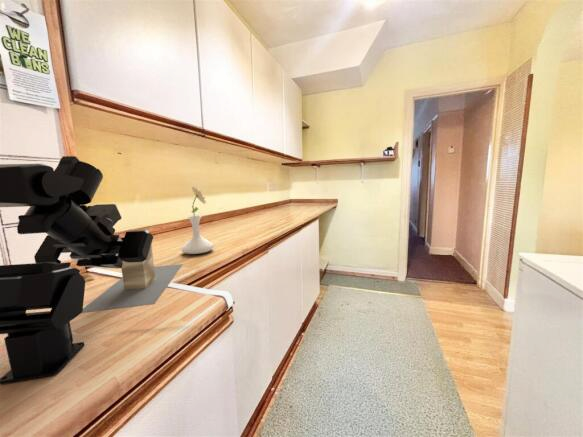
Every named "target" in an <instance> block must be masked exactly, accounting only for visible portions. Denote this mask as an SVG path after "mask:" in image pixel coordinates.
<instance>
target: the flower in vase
mask: <svg viewBox="0 0 583 437" xmlns="http://www.w3.org/2000/svg"><path fill="white" fill-rule="evenodd" d="M191 189H192V192H193V193H194V195H195V197H194V199H193V202H192V206H191V208H192V210H191V213H193V215H188V216H187V218H188V220H189V221H190V223H191V227H192V235H191V238H190V239H189V240H188V241H186V242H185V244H183V246H181V249H180V251H181V252H182V253H184V254H188V255H198V254H204V253H207V252H209V251H212V250H213V248H214V244H213V243H212V242H211V241H209V240H207V239H206V238H205V237H203V236H202V235H201V233H200V221H201V218H202V217H203V216H202V215H199V214H197V215H195V213H196V212H197V211H198V210H199V207H197V206H195V207H194V204H195V202H196V199H198V201H200V202H201V203H202V204H204V205H205V204H206V203H207V201H206V200H205V197H204V196H203V194H202V192H201V190H199V189H198V188H197V187H196V186H194V185H193V186H191Z"/></svg>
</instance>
